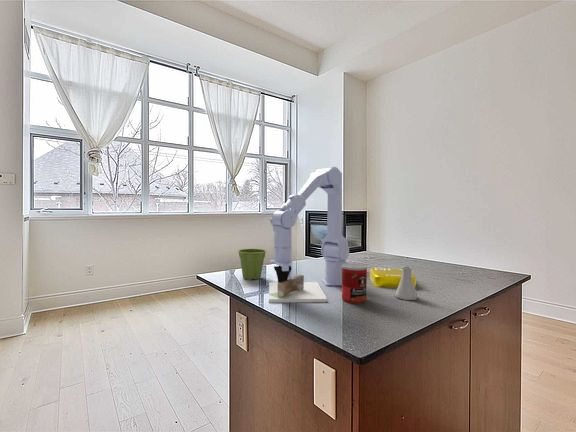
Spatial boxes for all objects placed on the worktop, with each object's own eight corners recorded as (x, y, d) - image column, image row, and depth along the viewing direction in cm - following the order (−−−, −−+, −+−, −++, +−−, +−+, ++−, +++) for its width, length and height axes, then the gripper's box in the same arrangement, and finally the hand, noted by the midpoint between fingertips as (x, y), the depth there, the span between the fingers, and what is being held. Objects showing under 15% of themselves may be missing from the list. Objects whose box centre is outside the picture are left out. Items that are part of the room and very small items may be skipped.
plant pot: (265, 281, 118) (265, 253, 117) (234, 281, 118) (234, 252, 118) (267, 274, 130) (268, 248, 129) (240, 274, 130) (240, 248, 129)
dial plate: (317, 284, 114) (317, 281, 114) (326, 302, 94) (326, 298, 94) (269, 285, 113) (269, 281, 113) (268, 302, 93) (268, 298, 93)
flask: (417, 295, 102) (418, 266, 102) (418, 302, 95) (419, 270, 95) (394, 293, 104) (395, 264, 104) (394, 299, 98) (395, 268, 97)
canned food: (352, 305, 92) (353, 269, 91) (336, 297, 99) (336, 264, 98) (371, 301, 95) (372, 266, 95) (354, 294, 102) (355, 262, 102)
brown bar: (296, 286, 106) (296, 273, 106) (305, 288, 104) (305, 275, 104) (275, 295, 96) (275, 281, 96) (284, 297, 94) (284, 283, 94)
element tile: (375, 288, 112) (375, 275, 112) (369, 278, 127) (369, 266, 127) (417, 289, 111) (417, 276, 110) (406, 279, 125) (406, 267, 125)
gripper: (268, 244, 106) (268, 282, 107) (272, 250, 92) (272, 295, 92) (288, 243, 107) (288, 282, 108) (295, 250, 93) (295, 294, 93)
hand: (282, 288), depth 100 cm, fingers closed
